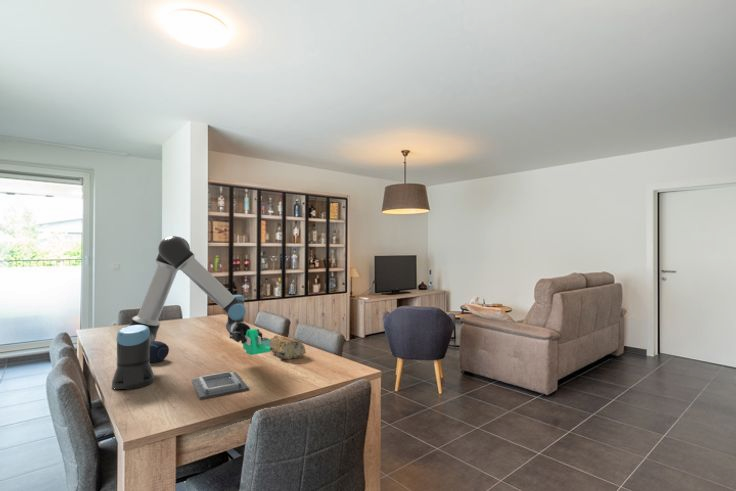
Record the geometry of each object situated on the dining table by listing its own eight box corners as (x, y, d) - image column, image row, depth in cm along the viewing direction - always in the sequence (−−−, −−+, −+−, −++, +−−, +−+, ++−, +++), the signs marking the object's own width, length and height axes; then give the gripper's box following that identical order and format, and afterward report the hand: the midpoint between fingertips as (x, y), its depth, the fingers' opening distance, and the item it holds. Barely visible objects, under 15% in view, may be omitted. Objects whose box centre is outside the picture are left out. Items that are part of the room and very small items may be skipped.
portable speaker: (115, 360, 190) (115, 341, 190) (133, 355, 199) (133, 336, 200) (155, 365, 183) (155, 344, 183) (171, 359, 192) (171, 339, 192)
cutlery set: (256, 352, 204) (256, 348, 204) (239, 342, 229) (239, 338, 229) (290, 347, 216) (290, 343, 216) (270, 338, 240) (270, 334, 240)
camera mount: (271, 354, 160) (271, 329, 160) (253, 357, 155) (254, 332, 155) (259, 348, 169) (259, 325, 169) (242, 350, 164) (243, 327, 164)
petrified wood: (266, 353, 201) (269, 334, 203) (287, 354, 209) (291, 336, 211) (282, 360, 186) (286, 340, 188) (305, 361, 194) (308, 341, 196)
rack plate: (199, 399, 141) (199, 393, 141) (191, 381, 160) (191, 376, 160) (248, 389, 151) (248, 383, 151) (235, 374, 169) (235, 368, 169)
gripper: (258, 336, 182) (274, 347, 162) (222, 340, 173) (234, 353, 153) (258, 321, 182) (274, 330, 162) (222, 324, 173) (234, 334, 153)
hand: (254, 341), depth 157 cm, fingers closed on camera mount, 4 cm apart
